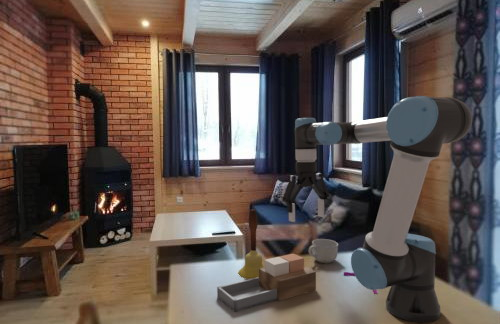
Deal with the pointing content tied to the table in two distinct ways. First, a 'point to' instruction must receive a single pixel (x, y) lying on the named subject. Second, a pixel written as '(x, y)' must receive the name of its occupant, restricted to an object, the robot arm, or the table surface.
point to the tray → (245, 294)
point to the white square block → (276, 266)
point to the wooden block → (289, 282)
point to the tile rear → (294, 262)
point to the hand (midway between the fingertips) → (306, 219)
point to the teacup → (324, 250)
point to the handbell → (252, 252)
